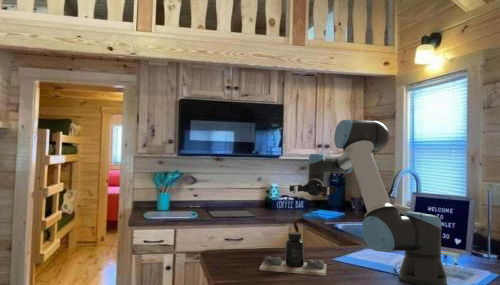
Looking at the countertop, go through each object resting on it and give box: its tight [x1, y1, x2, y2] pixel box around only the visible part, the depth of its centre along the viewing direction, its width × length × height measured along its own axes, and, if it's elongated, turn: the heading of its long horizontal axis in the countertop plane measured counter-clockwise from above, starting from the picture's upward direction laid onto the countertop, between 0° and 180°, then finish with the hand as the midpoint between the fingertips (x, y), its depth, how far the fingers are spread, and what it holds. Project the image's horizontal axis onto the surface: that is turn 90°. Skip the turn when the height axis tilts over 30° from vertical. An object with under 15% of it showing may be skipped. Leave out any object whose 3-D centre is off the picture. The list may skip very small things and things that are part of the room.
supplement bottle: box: [285, 231, 305, 267], centre depth 148 cm, size 7×7×12 cm
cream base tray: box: [258, 255, 328, 277], centre depth 148 cm, size 24×12×3 cm, turn 77°
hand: (311, 190), depth 163 cm, fingers open, 13 cm apart
